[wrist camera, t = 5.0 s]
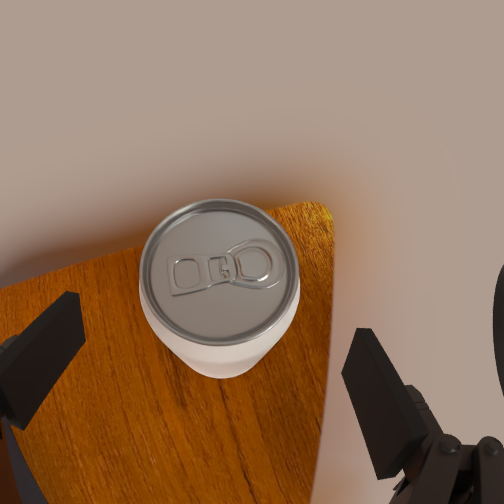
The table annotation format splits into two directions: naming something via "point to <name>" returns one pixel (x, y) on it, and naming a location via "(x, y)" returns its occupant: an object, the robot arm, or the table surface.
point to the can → (219, 284)
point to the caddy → (22, 470)
